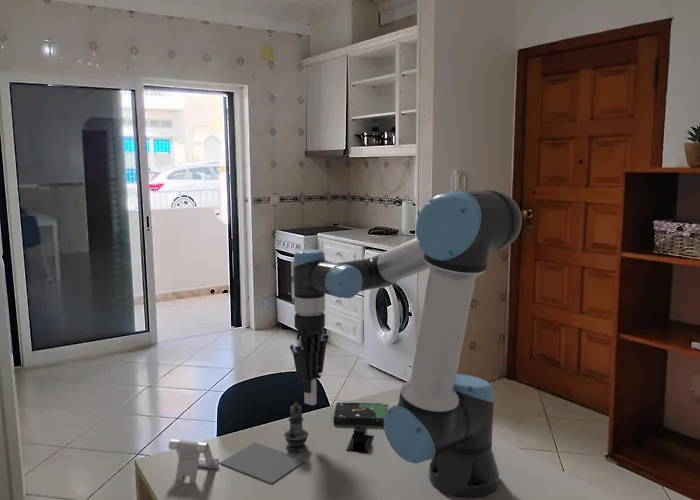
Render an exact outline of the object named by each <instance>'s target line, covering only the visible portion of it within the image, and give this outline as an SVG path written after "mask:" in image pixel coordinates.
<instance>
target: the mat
mask: <svg viewBox="0 0 700 500" xmlns="http://www.w3.org/2000/svg"><path fill="white" fill-rule="evenodd" d="M305 462H307V460H306V459H304V458H301V457H298V456H295V455H293V454H290V453H286V452H283V451H281V450H278V449H276V448H272V447H270V446H266V445H264V444H261V443H257V442H253V443H251V444H250V445H248V446H246V447H245V448H242V449H241V450H240V451H238V452H236V453H234V454H232V455H231V456H230V455H229V457H227V458H225V459H224V460H222V461H219V465H222V466H225V467H227V468H230V469H232V470H234V471H237V472H239V473H242V474H244V475H246V476H250V477H252V478H255V479H257V480H260V481H262V482H265V483H268V484H269V485H273V484H275V483H276V482H278V481H279V480H281V479H282V478H284V477H285V476H286V475H288V474H289V473H291V472H292V471H294V470H295V469H296V468H298V467H299V466H301V465H303V464H304V463H305Z"/></svg>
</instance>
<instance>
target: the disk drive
mask: <svg viewBox="0 0 700 500" xmlns="http://www.w3.org/2000/svg"><path fill="white" fill-rule="evenodd" d="M334 409H335V410H334V414H333V425H334V426H356V425H366V426H367V427H368V426H369V427H384V417H385V414H386V412H387V411H388V410H389V404H388V403H387V404H386V403H381V402H380V403H375V402H374V403H372V402H371V403H370V402H369V403H368V402H367V403H366V402H336V404H335V408H334Z"/></svg>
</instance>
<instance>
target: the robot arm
mask: <svg viewBox="0 0 700 500" xmlns="http://www.w3.org/2000/svg"><path fill="white" fill-rule="evenodd" d="M522 216H523V215H522V213H521V209H520V206H519V205H518V204H517V202H516V201H515V200H514V199H513V198H512V197H511V196H510V195H508V194H506V193H504V192H501V191H498V190H494V189H493V190H477V191H476V190H473V191H472V190H469V191H465V190H463V191H462V190H461V191H460V190H454V191H450V192H443V193H440V194H437V195H435V196H433V197H432V198H431V199H429V200H428V201H427V202H425V204H424V205H423V207H422V208H421V209H420V211H419V213H418V217H417V220H416V224H415V236H416V237H414V238H412V239H410V240H407V241H406V242H403V243H402V244H399V245H398V246H395V247H393V248H390V249H388V250H385V251H383V252H381V253H380V254H377V255H375V256H373V257H369V258H364V259H357V260H349V261H343V262H342V261H341V262H332V261H327V260H326V257H325V252H324V251H323V250H321V249H320V250H319V249H301V250H297V251H295V252H294V255H293V266H292V269H293V291H294V292H293V293H294V312H295V313H294V328H295V329H296V330H297V334H296V340H297V341H295V343H294V344H290V347H289V349H290V351H291V352H292V356H293V360H294V366H295V367H294V368H295V372H296V377H297V379H298V380H302V381H303V394H304V398H303V399H304V404H306V405H310V406H315V405H317V402H318V401H317V389H318V379H321V377H322V373H323V370H324V363H325V354H326V351H327V350H326V349H327V343H328V341H329V335H328V334H325V333H323V329H324V328H325V326H326V313H325V311H326V300H325V299H326V295H329V296H332V297H334V298H335V297H336V298H339V299H352V298H354V297H355V296H356V295H358V294H359V293H360V292H364V291H367V290H373V289H379V288H381V289H383V288H386V287H390V286H393V285H395V284H396V283H397V281H400V280H403V279H405V278H409V277H410V276H413V275H415V274H418V273H421V272H423V271H426V270H429V272H428V277H427V284H426V288H425V289H426V290H425V294H424V299H423V306H422V312H421V318H420V324H419V331H418V334H417V335H418V336H417V340H416V346H415V352H414V358H413V363H412V367H411V368H412V370H411V374H410V379H409V380H407V381H405V382H403V384H402V386H401V387H400V391H399V392H400V393H399V398H398V403H397V405H392V406H391V407H389V408H388V411H387V412H386V414H385V417H384V426H383V430H384V433H385V436H386V438H387V439H386V440H387V441H388V443H389V445H390V447H391V449H392V450H393V451H394V452H395V453H396V454H397V456H398V457H399V458H401V459H402V460H404V461H406V462H409V463H411V464H420V463H421V464H422V463H423V462H426V461H430V464H429V466H428V469H429V470H428V471H429V472H428V478H429V481H430V482H431V484H432V485H433V486H434V487H435V488H436V489H438V490H439V491H442V492H443V493H445V494H448V495H452V496H455V497H460V498H469V499H470V498H480V497H481V498H482V497H485V496H488V495H490V494H493V493H494V492H496V490H497V489H498V487H499V484H500V473H499V472H500V471H499V468H498V466H497V465H498V464H497V462H496V460H495V455H494V452H493V447H492V446H493V444H492V443H493V428H494V427H493V422H494V403H495V400H494V387H493V386H492V385H491V383H489V381H487V380H485V379H483V378H480V377H477V376H473V375H469V374H461V373H458V369H459V363H460V358H461V353H462V349H463V344H464V343H463V342H464V339H465V335H466V329H467V323H468V319H469V315H470V308H471V304H472V298H473V294H474V289H475V285H476V279H477V278H478V277H479V276H481V275H482V274H484V273H486V271H487V267H488V263H489V258H490V254H491V253H490V252H496V251H500V250H503V249H504V248H508V247H509V246H510V245H511V244H512V243H514V242H515V241H516V239H517V238H518V237H519V234H520V233H521V229H522V225H523V217H522Z"/></svg>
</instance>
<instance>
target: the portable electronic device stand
mask: <svg viewBox="0 0 700 500" xmlns="http://www.w3.org/2000/svg"><path fill="white" fill-rule="evenodd" d="M168 448H169V450H172V451H176V453H177V457H178V462H177V468H176V475H175V481H177V482H182V480H183V477H184V476H186V477H189V483H190V484H194V483H196V482H197V475H198V468H199V467H200V468H207V469H211V470H213V469H215V470H216V469H218V468H219V465H220V460H219V457H214V456H213V453H212V451H211V447H210V445H209V443H207V442H201V441H200V442H198V441H191V440H190V441H189V440H181V439H174V438H173V439H170V440H169V442H168ZM201 454H203V457H204V458H200V455H201Z"/></svg>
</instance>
